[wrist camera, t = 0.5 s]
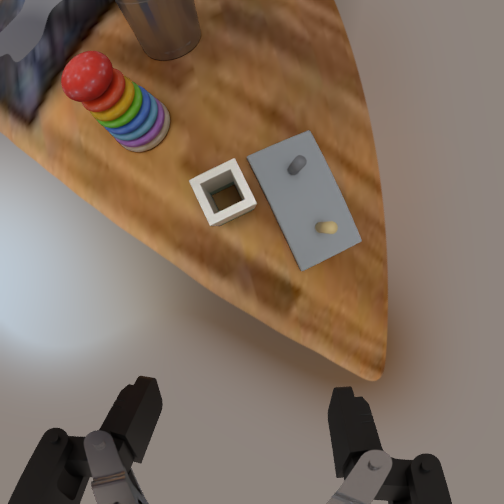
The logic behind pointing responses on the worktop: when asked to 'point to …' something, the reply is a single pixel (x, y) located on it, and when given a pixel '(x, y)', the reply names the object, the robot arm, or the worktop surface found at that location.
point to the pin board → (305, 199)
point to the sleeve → (217, 182)
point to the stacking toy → (116, 101)
